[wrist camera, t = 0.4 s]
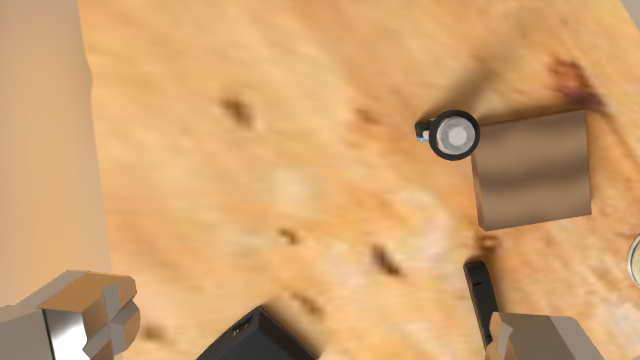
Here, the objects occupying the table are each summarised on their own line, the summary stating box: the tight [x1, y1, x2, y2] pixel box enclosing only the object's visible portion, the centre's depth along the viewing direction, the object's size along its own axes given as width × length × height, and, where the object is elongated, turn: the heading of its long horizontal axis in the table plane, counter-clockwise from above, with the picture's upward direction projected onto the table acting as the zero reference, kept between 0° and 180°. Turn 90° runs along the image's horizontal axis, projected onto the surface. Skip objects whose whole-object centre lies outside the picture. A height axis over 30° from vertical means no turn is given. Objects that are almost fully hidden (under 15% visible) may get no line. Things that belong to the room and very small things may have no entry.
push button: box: [415, 110, 480, 161], centre depth 48 cm, size 7×5×10 cm
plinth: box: [471, 109, 592, 231], centre depth 52 cm, size 13×13×2 cm
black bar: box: [463, 260, 499, 351], centre depth 56 cm, size 18×3×3 cm, turn 17°
